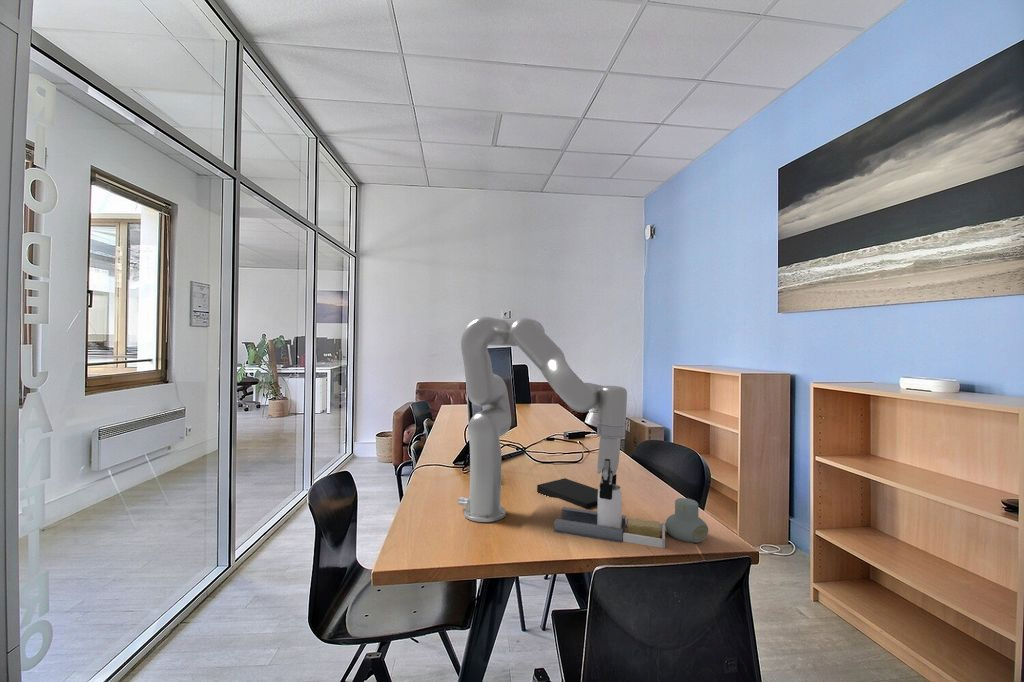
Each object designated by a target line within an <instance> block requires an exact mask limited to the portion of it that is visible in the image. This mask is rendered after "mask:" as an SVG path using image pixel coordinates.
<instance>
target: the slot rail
mask: <svg viewBox="0 0 1024 682" xmlns="http://www.w3.org/2000/svg"><path fill="white" fill-rule="evenodd" d="M562 507H563V506H562ZM626 516H627V515H622V520H621V528H614V527H608V526H601V525H597V511H594V510H589V509H579V508H573V507H565V506H564V507H563V508H562V509H561V518H560V519H559V518H555V519H554V521H553V522H554V523H553V532H554V533H558V534H564V535H565V534H566V535H570V536H571V535H572V536H576V537H582V538H583V537H584V538H589V539H595V540H602V541H608V542H614V543H619V544H622V543H623V533H625V530H626V526H627V517H626Z"/></svg>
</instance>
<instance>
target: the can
mask: <svg viewBox="0 0 1024 682" xmlns="http://www.w3.org/2000/svg"><path fill="white" fill-rule="evenodd" d="M622 494H623V493H622V490H621V486H620V485H618V484H616V485H615V484H613V488H612V499H611V500H608V499H603V498H600V484H599V486H598V506H597V511H596V512H597V525H601V526H608V527H614V528H621V520H622V509H623V508H622V507H623V506H622V504H623V503H622V501H623V496H622Z"/></svg>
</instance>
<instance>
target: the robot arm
mask: <svg viewBox="0 0 1024 682" xmlns="http://www.w3.org/2000/svg"><path fill="white" fill-rule="evenodd" d="M488 346H509V347H518V348H519V349H520V350H521V351H522V352H523V353H524V355H526V357H528V359H529V360H530V361H531V362H532V363H533V364H534V365H535V366H536V367H537V368H538V370H539V371H540V372H541V374H542V375H543V377H544V378H545V380H546V381H547V382H548V384H549V385H550V387H551V388H552V389H553V391H554V392H555V393H556V394H557V395H558V397H560V398H561V400H562V401H563V402H564V403H566V405H567V406H568V407H569V408H570V409H571V410H573V411H574V412H577V413H587V412H589V411H591V410H593V409H598V411H597V430H596V431H597V432H596V435H597V436H598V437H599V444H598V445H599V446H598V454H597V455H598V456H597V467H596V473H597V474H598V475H600V474H601V478H600V484H599V485H600V487H599V488H600V498H603V499H608V500H611V499H612V488H613V484H615V485H617V472H618V469H619V462H620V452H621V440H623V439H626V423H627V422H626V421H627V405H628V403H627V402H628V391H627V389H626V388H625V387H624V386H618V385H617V386H616V385H601V384H600V385H599V384H597V383H596V384H595V383H592V382H591V383H590V382H584V381H583V380H582V379H581V378H580V377H579V376H578V375H577V373H575V372H574V371H573V370H572V368H571V367H570V364H568V362H567V360H566V357H565V354H564V352H563V350H562V349H561V348H560V347H559V346H558V345H557V344H556V343H555V342H554V341H553V340H552V339H551V337H549V336H548V334H547V333H546V332H545V329H544V326H543V324H541V322H540V321H537V320H535V319H532V318H527V317H521V318H518V319H501V318H496V317H490V316H481V317H478V318H475V319H473V320H472V321H470V322H469V323H468V324H467V326H466V327H465V328H464V330H463V332H462V335H461V338H460V350H461V356H462V362H463V369H464V370H463V371H464V376H465V385H466V391H467V396H468V399H469V401H470V402H471V403H472V405H474V406H478V407H481V409H482V410H480V411H478V412H476V413H475V414H474V415H473V416H472V417H471V418H470V419H469V422H468V428H467V431H468V433H467V434H468V441H469V454H470V455H469V457H470V458H469V496H468V497H465V496H459V497H458V499H457V500H458V501H457V502H458V503H457V504H458V506H462V507H463V506H464V507H465V508H464V511H463V515H464V516H463V517H465V518H466V519H467V520H469V521H471V522H472V521H473V522H478V523H491V522H496V521H500V520H502V519H504V518H505V516H506V514H507V513H506V509H505V508H504V507H503V506H501V505H502V503H501V502H502V496H501V495H502V448H501V443H500V441H501V440H500V438H501V437H503V436H504V435H506V434H507V433H508V432H509V430H510V428H511V425H512V414H511V413H512V412H511V406H510V400H509V392H508V388H507V385H506V382H505V381H504V379H503V378H502V377H501V376H499V375H498V374H495V373H494V371H493V367H492V360H491V356H490V353H489V349H488Z"/></svg>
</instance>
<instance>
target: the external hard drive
mask: <svg viewBox="0 0 1024 682" xmlns="http://www.w3.org/2000/svg"><path fill="white" fill-rule="evenodd" d="M598 490H599V488H595V487H592V486H589V485H586V484H583V483H580V482H578V481H574V480H571V479H568V478H565V477H564V478H560V479H555V480H552V481H548V482H545V483H540V484H537V485H536V493H537V492H538V493H537V494H539V493H541V494H540V495H542V494H543V496H544V495H546V496H545V497H547V496H549V497H548V498H555V499H560V500H562V501H564V502H566V503H570V504H573V505H574V506H578V507H580V508H582V509H584V510H590V509H592V508H595V507H598Z"/></svg>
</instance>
